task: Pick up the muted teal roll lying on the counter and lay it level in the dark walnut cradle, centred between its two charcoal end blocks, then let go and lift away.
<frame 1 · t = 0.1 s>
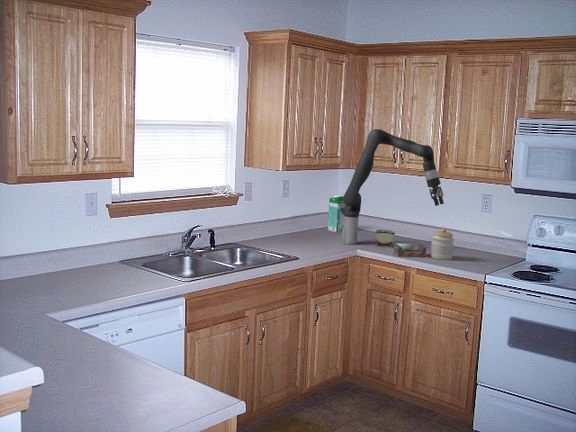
hand: (439, 204, 390), 31 cm above the worktop, tool tilted 20°, fingers open, 8 cm apart
jar: (441, 257, 395), on the worktop
holder: (409, 255, 397), on the worktop
food container: (384, 246, 422), on the worktop
milk carton: (336, 231, 466), on the worktop
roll: (404, 247, 407), point 2 cm above the worktop
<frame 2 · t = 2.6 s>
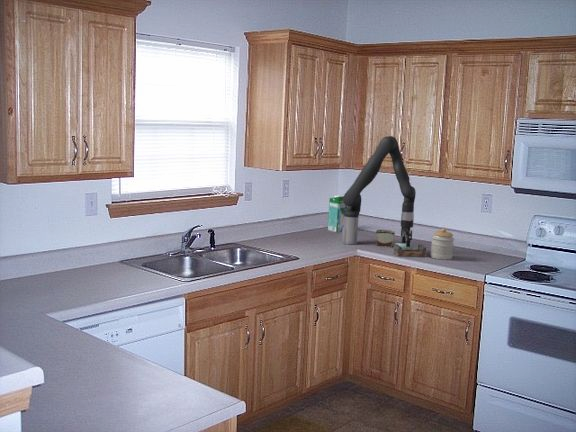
hand: (405, 245, 406), 4 cm above the worktop, tool pointing down, fingers open, 8 cm apart
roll: (403, 247, 409), point 2 cm above the worktop, tilted 81°, touching gripper
everything else where it was.
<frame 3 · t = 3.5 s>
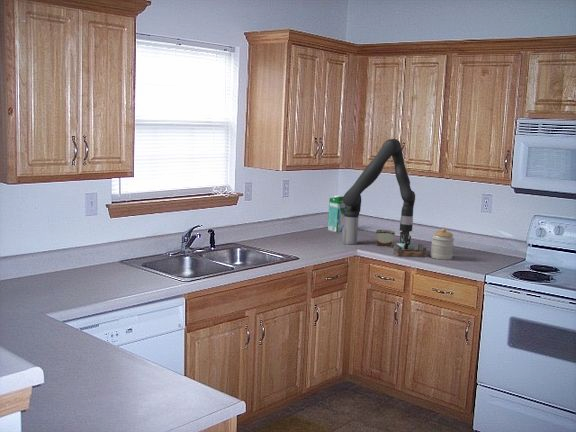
hand: (404, 250, 407), 1 cm above the worktop, tool pointing down, fingers closed on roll, 5 cm apart
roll: (405, 247, 407), point 2 cm above the worktop, tilted 49°, touching gripper
everything else where it was.
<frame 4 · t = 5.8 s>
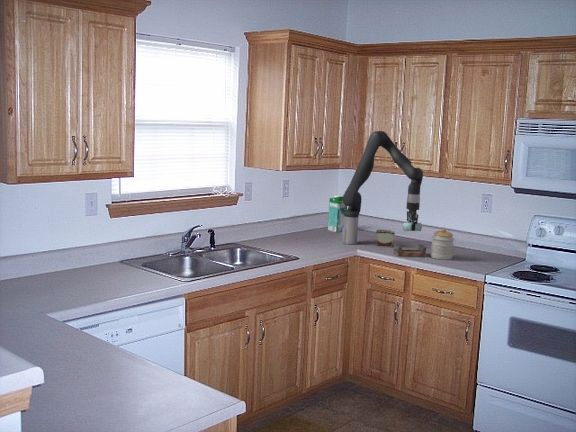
hand: (411, 229, 397), 15 cm above the worktop, tool pointing down, fingers closed on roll, 5 cm apart
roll: (412, 226, 397), point 17 cm above the worktop, tilted 50°, touching gripper
everything else where it was.
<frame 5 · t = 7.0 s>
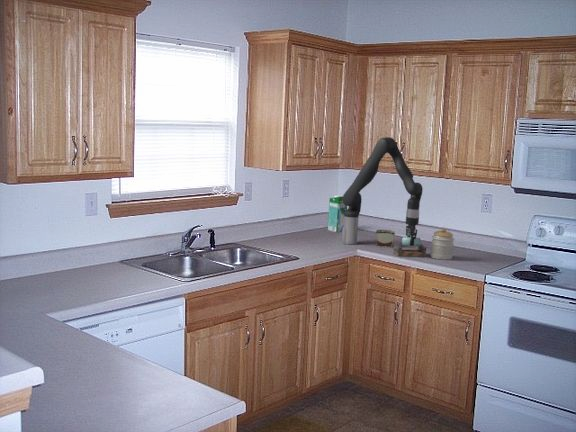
hand: (410, 244, 396), 6 cm above the worktop, tool pointing down, fingers closed on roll, 5 cm apart
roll: (411, 241, 396), point 8 cm above the worktop, tilted 49°, touching gripper
everything else where it was.
when the fingers open (4 cm above the worktop, at t = 7.9 s): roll drops 2 cm, resting on holder.
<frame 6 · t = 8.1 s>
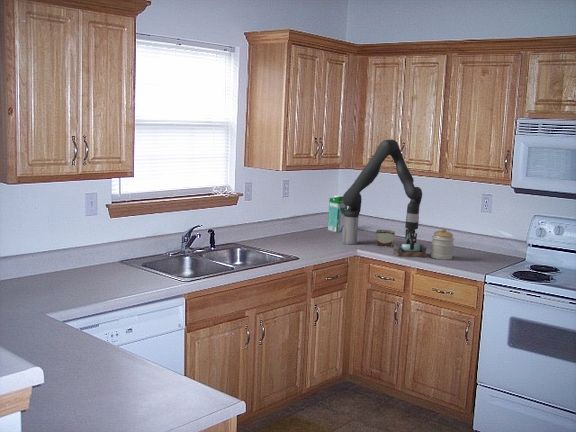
hand: (409, 248, 397), 4 cm above the worktop, tool pointing down, fingers open, 6 cm apart
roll: (410, 248, 397), point 4 cm above the worktop, tilted 49°, touching holder
everything else where it was.
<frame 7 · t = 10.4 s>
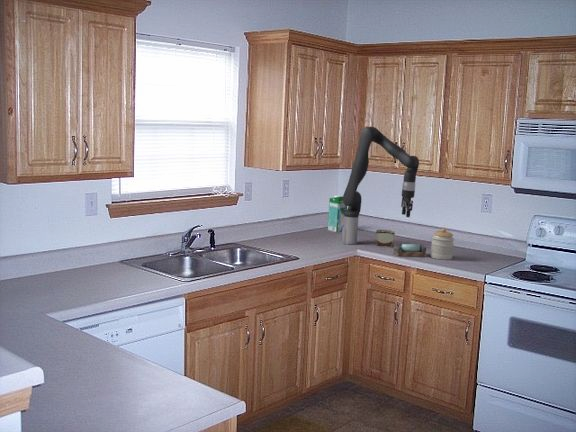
hand: (405, 215, 401), 22 cm above the worktop, tool pointing down, fingers open, 8 cm apart
nothing on the worktop moved.
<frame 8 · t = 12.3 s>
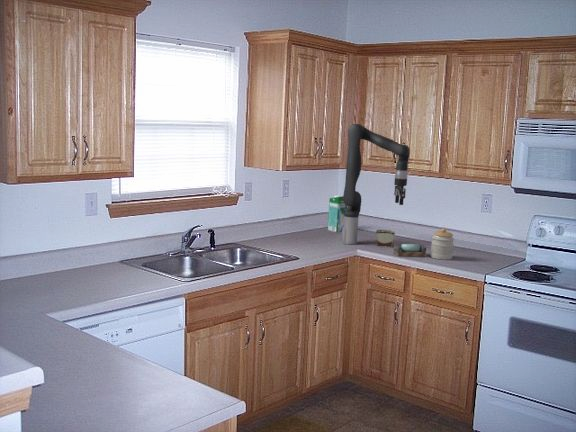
hand: (399, 203, 410), 28 cm above the worktop, tool pointing down, fingers open, 8 cm apart
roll: (410, 248, 397), point 4 cm above the worktop, tilted 55°, touching holder
everything else where it was.
at the end: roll 0.4 cm off-centre on the holder, point 4.0 cm above the holder's base; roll touching holder; the gripper is holding nothing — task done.
